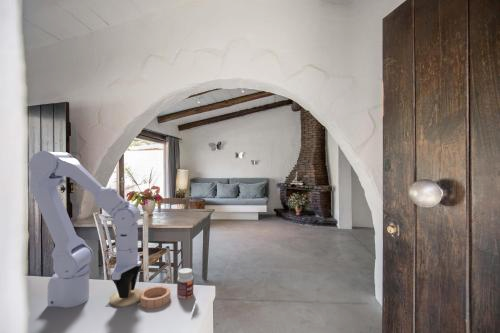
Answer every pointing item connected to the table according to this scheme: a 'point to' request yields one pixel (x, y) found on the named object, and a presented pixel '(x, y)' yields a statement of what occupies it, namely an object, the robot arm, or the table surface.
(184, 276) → the pill bottle
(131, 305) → the coaster
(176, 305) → the table surface
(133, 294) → the lid
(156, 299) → the bowl
